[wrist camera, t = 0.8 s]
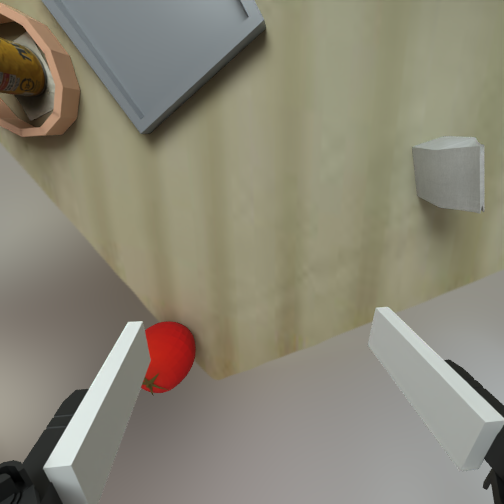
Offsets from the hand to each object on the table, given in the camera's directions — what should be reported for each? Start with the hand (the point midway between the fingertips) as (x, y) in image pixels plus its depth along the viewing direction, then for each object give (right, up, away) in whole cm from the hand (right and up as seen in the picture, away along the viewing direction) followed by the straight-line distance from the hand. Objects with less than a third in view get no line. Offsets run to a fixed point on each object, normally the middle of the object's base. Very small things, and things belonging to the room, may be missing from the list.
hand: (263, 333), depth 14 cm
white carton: (+23, +16, +19) cm, 34 cm away
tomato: (-16, -12, +39) cm, 44 cm away
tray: (-13, +34, +15) cm, 40 cm away
